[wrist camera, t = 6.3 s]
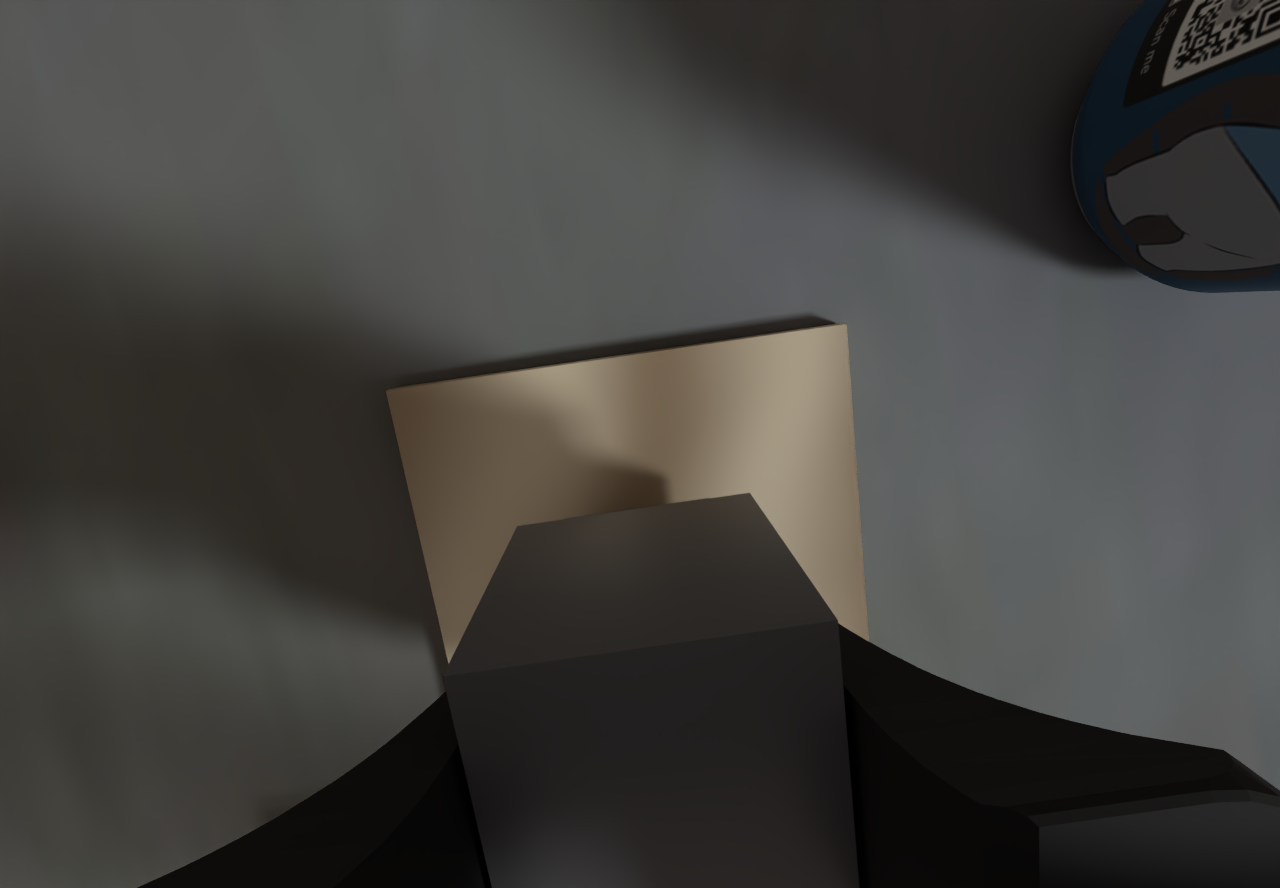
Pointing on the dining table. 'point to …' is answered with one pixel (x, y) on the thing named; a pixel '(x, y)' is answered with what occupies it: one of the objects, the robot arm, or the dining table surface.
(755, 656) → the block
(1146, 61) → the soda can
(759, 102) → the dining table surface
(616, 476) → the pad
